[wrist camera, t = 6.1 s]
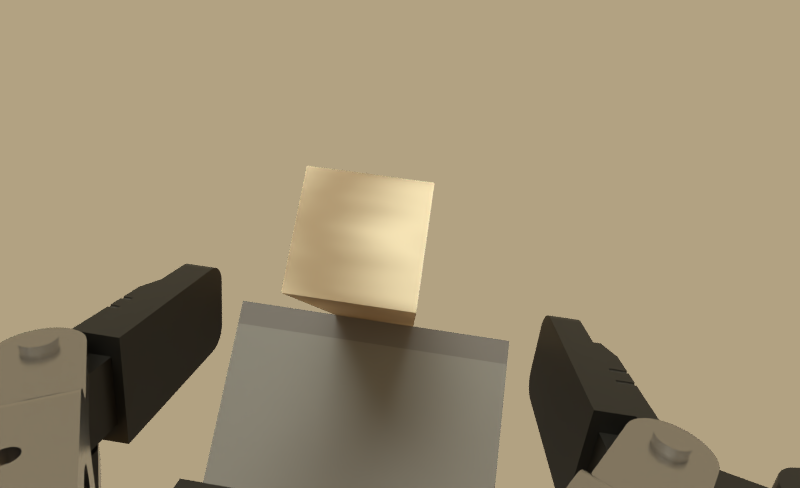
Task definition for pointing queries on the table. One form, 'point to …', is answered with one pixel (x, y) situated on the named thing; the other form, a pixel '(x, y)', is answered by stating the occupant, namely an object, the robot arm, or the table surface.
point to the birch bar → (359, 244)
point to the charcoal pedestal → (356, 404)
